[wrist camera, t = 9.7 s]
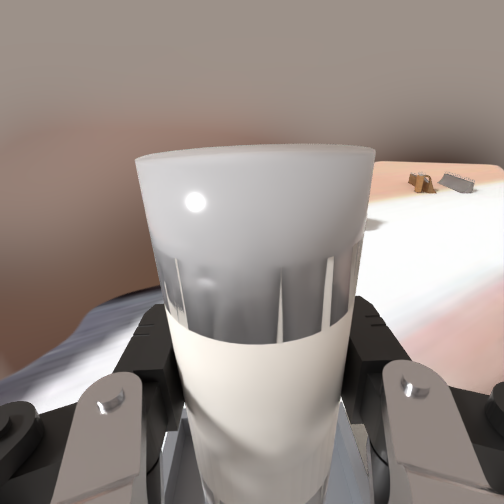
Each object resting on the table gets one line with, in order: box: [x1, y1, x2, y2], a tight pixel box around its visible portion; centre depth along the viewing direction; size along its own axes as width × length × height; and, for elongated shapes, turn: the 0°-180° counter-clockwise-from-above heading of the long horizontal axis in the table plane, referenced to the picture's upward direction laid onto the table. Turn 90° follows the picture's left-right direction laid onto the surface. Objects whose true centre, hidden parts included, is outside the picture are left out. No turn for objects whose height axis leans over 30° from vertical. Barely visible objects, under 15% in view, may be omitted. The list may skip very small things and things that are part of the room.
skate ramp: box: [408, 172, 475, 193], centre depth 102 cm, size 29×35×8 cm
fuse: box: [135, 144, 376, 504], centre depth 8 cm, size 5×5×12 cm
